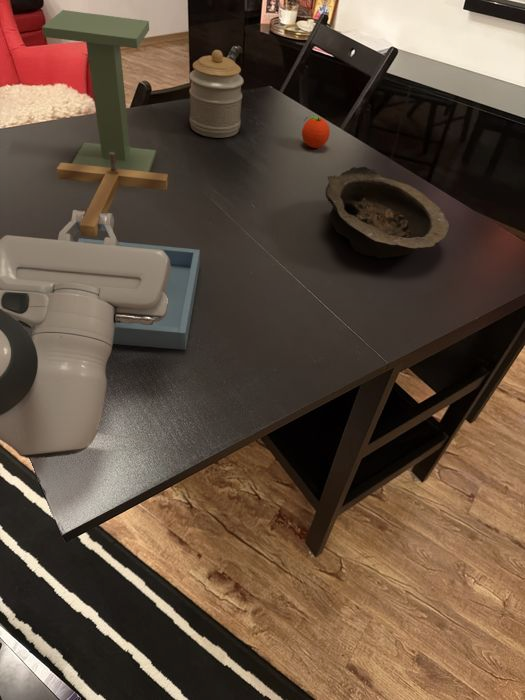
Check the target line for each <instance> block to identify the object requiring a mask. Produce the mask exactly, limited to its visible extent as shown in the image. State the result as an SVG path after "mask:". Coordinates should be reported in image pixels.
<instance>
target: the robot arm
mask: <svg viewBox="0 0 525 700" xmlns="http://www.w3.org/2000/svg"><path fill="white" fill-rule="evenodd" d="M86 211H87V210H80V209H73V210H72V214H71V220H70V221H69V222H67V224H65V226H63V228H61V230H60V231H59V232H58V237H57V239H51V238H41V237H40V238H39V237H32V236H31V237H30V236H19V235H9V234H7V235H4V236H2V237H1V238H0V441H2V442H3V443H5V444H6V445H7V446H9V448H11V449H13V450H14V451H15V452H16V453H17V455H19V456H20V457H22V458H23V457H24V458H25V459H26V458H27V459H40V458H42V459H43V458H54V457H56V458H57V457H64V456H70V455H76V454H78V453H80V452H82V451H84V450H85V449H87V448H88V447H89V446H90V445H92V443H93V442H94V440H95V439H96V437H97V436H96V435H97V433H98V430H99V427H100V423H101V419H102V415H103V409H104V406H105V400H106V393H107V387H108V380H107V374H106V372H107V371H106V369H107V363H108V360H109V357H110V356H111V354H112V350H113V345H114V344H113V337H114V330H115V323H139V324H143V325H152V324H153V322H158V321H160V320H161V319H163V318H164V317H165V315H166V313H167V307H168V297H167V294H166V293H165V292H166V289H167V285H168V281H169V276H170V270H171V265H170V260H169V258H168V256H167V255H166V253H165V252H164V251H163V250H157V249H147V248H136V247H126V246H120V245H119V243H118V242H119V241H118V239H117V236H116V235H115V231H114V225H115V217H114V214H113V213H110V212H107V213H99V217H100V218H99V219H98V225H99V227H100V230H99V231H100V232H101V231H102V232H107V234H108V237H107V236H105V237H104V240H103V241H104V244H94V243H84V242H78V241H75V239H74V238H75V237H76V235H77V234H78V233H79V231H81V230H80V223H81V221H82V219H83V217H84V215H85V213H86ZM153 317H158V318H156V319H154V318H153ZM25 327H26V328H28V329H31V330H32V334H31V335H30V333H29V332H28V331H27V329H26V328H25Z"/></svg>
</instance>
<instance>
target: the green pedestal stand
mask: <svg viewBox="0 0 525 700" xmlns="http://www.w3.org/2000/svg"><path fill="white" fill-rule="evenodd" d="M41 29H42V35H43V37H44V38H49V39H58V40H64V41H75V42H81V43H86V51H87V58H88V66H89V73H90V80H91V86H92V93H93V94H92V95H93V101H94V107H95V114H96V121H97V127H98V128H97V129H98V137H99V143H94V142H93V143H92V142H84V143H83V144H82V146H81V147H80V149H79V151H78V153H76V155H75V158H73V160H72V162H71V164H79V165H88V166H97V167H106V168H111V165H110V157H109V153H110V152H114V153H115V157H116V166H117V169H125V170H134V171H143V172H151V170H152V167H153V164H154V161H155V159H156V156H157V150H156V149H150V148H149V149H148V148H141V147H140V148H138V147H131V144H130V134H129V124H128V123H129V122H128V114H127V113H128V112H127V103H126V102H127V101H126V93H125V82H124V81H125V80H124V70H123V60H122V51H121V49H122V48H128V49H129V48H130V49H138V48H139V47H140V45H141V44H142V42H143V40H144V39H145V37H147V34H148V33H149V31H150V21H149V20H143V19H137V18H129V17H120V16H114V15H113V16H112V15H104V14H98V13H89V12H83V11H82V12H81V11H75V10H74V11H73V10H65V9H62V10H61V11H60V12H58V13H57V14H56V15H55V16H54V17H52V18H51V19H50V20H49V21H47V22H46V23H45V24H44V25H42V26H41ZM121 47H122V48H121Z"/></svg>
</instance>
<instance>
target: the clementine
mask: <svg viewBox="0 0 525 700" xmlns="http://www.w3.org/2000/svg"><path fill="white" fill-rule="evenodd" d="M308 118H310V119H308ZM307 119H308V120H307ZM306 120H307V121H306ZM305 121H306V122H305ZM303 122H304V124H303V127H302V130H301V138H302V141H303V142H304V144H305V145H306V146H308V147H309V148H313V149H318V148H321V147H323V146H324V145H325V144H327V142H328V140H329V138H330V132H331V130H330V126H329V124H328V122H327V121H326V120H325V119H324V118H321V117H319V116H315V115H311V116H307V117H305V118H304V121H303Z"/></svg>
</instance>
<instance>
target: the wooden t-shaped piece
mask: <svg viewBox="0 0 525 700" xmlns="http://www.w3.org/2000/svg"><path fill="white" fill-rule="evenodd" d="M109 157H110V165H111V168H106V167H97V166H88V165H79V164H72V163H69V162H60V163H59V165H57V167H56V173H57V177H58V179H59V180H65V181H66V180H67V181H75V182H84V183H93V184H94V183H95V184H99V186H98V187H97V189H96V192H95V193H94V196H93V197H92V200H91V201H90V203H89V205H88V207H87V209H86V210H85V211H86V213H85V215H84V217H83V219H82V221H81V223H80V230H79V231H80V235H81V236H84V237H92V238H97V236H98V234H99V232H100V231H101V230H100V227H99V225H98V219H99V218H100V217H99V213H109V212H108V211H109V209H110V208H111V206H112V204H113V203H112V202H113V200H114V198H115V196H116V194H117V191H118V189H119V187H120V186H122V187H130V188H131V187H132V188H139V189H140V188H141V189H151V190H161V191H167V190H168V186H169V174H168V173H161V172H151V171H150V172H143V171H134V170H125V169H117V166H116V157H115V153H114V152H110V153H109Z"/></svg>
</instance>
